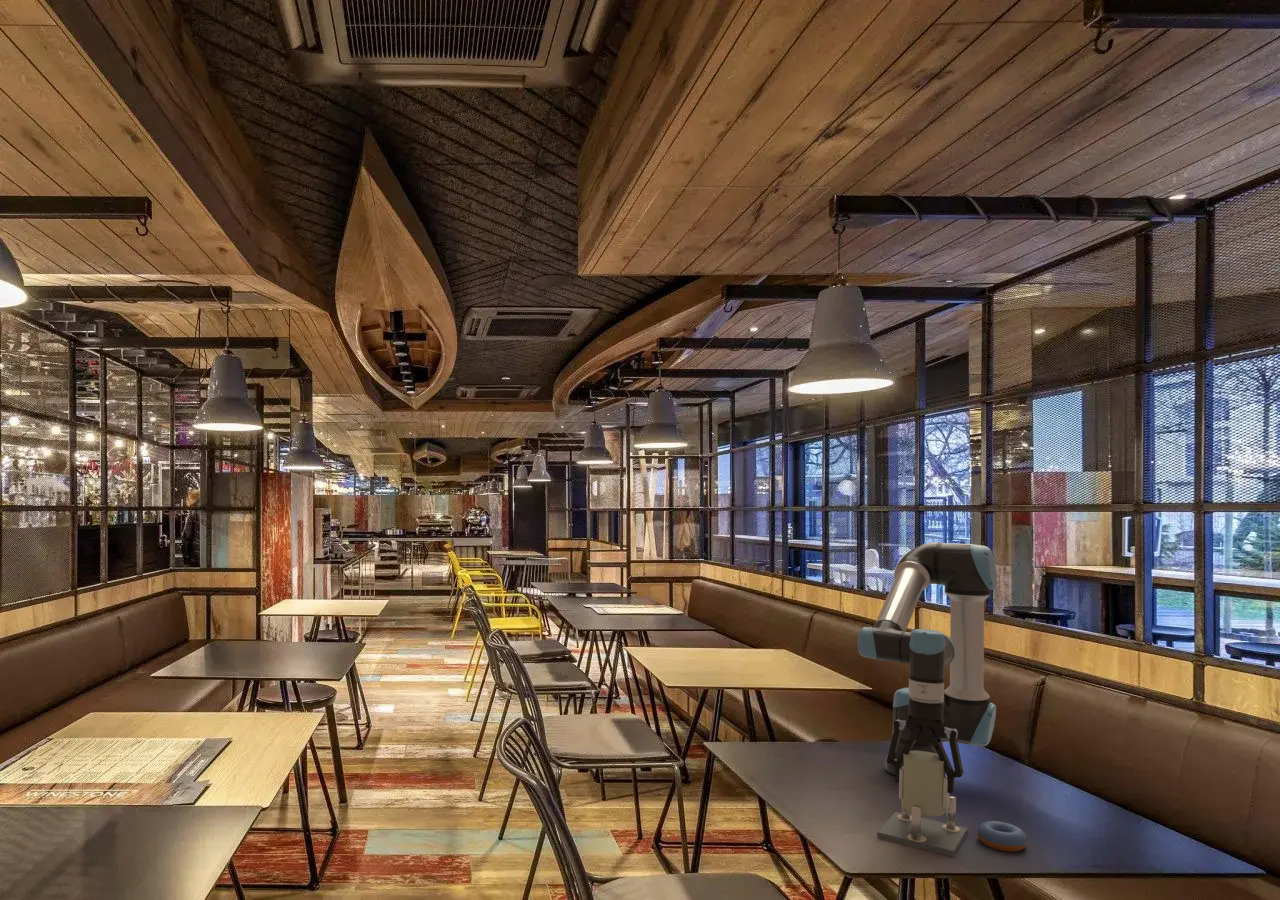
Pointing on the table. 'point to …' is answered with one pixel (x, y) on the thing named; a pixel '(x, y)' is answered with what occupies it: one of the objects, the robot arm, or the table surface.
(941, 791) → the can
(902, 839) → the board
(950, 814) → the pins
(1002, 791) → the table surface
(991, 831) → the doughnut
